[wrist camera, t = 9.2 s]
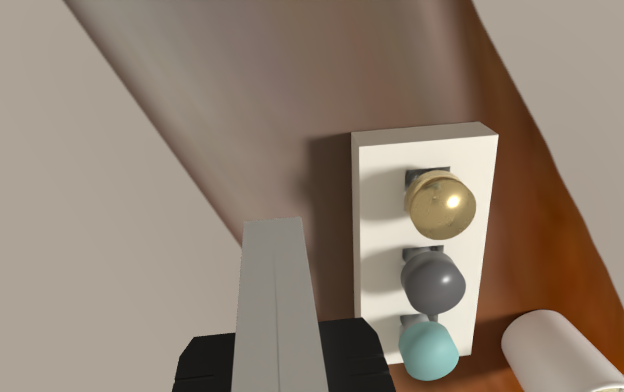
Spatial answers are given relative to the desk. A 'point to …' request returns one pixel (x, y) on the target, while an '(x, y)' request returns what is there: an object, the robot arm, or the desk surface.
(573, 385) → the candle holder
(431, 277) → the knob mid
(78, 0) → the desk surface
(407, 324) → the knob
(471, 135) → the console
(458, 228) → the knob
